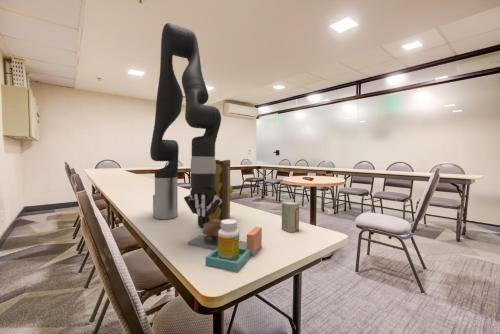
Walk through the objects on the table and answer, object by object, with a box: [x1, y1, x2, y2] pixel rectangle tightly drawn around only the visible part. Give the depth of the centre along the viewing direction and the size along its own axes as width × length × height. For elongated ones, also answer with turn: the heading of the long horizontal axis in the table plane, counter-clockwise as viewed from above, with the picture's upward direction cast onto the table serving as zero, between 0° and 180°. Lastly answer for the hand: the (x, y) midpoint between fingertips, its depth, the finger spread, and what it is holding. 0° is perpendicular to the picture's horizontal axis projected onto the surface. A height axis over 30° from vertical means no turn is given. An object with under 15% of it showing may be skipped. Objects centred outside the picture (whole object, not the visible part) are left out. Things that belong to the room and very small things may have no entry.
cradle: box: [204, 247, 252, 273], centre depth 57 cm, size 9×9×2 cm
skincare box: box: [281, 201, 300, 233], centre depth 81 cm, size 5×4×10 cm
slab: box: [202, 219, 238, 243], centre depth 67 cm, size 8×6×5 cm
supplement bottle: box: [218, 218, 240, 261], centre depth 57 cm, size 5×5×10 cm
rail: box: [187, 226, 263, 257], centre depth 66 cm, size 21×7×6 cm, turn 69°
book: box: [208, 159, 234, 222], centre depth 87 cm, size 22×8×25 cm, turn 179°
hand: (203, 227), depth 69 cm, fingers closed
